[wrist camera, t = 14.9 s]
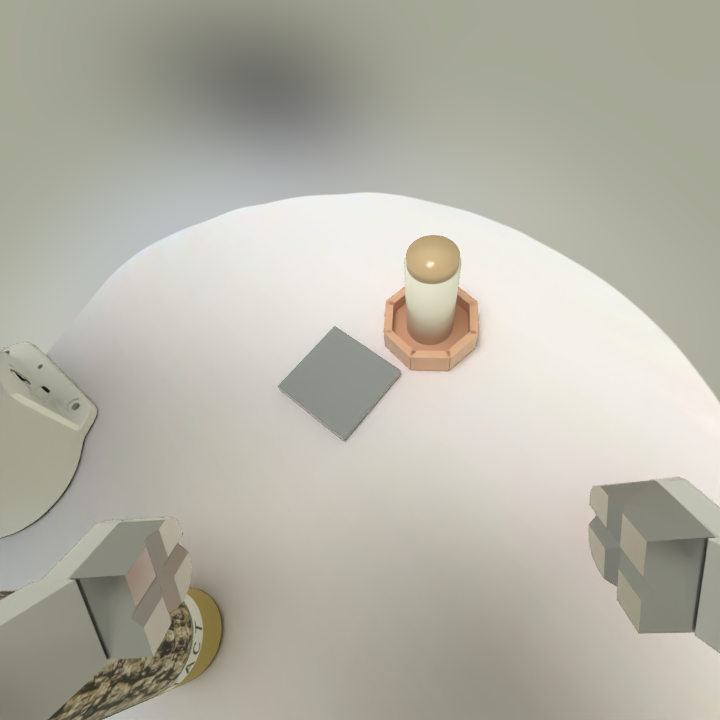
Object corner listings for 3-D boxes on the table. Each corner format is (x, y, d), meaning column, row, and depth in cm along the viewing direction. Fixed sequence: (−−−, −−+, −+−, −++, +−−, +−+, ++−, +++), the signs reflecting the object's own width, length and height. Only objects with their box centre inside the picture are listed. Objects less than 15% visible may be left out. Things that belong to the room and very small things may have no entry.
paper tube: (130, 644, 36) (-321, 740, 14) (186, 570, 38) (-128, 553, 16) (184, 704, 34) (-255, 934, 12) (241, 622, 36) (-39, 684, 14)
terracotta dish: (368, 330, 47) (366, 316, 45) (430, 281, 49) (431, 265, 47) (429, 387, 44) (429, 376, 41) (493, 331, 46) (498, 317, 43)
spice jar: (397, 325, 46) (391, 255, 36) (429, 298, 47) (433, 224, 37) (429, 353, 44) (432, 288, 34) (462, 325, 45) (474, 254, 35)
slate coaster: (280, 390, 45) (277, 386, 44) (336, 330, 48) (334, 326, 47) (344, 441, 42) (342, 438, 41) (400, 374, 45) (400, 370, 44)
